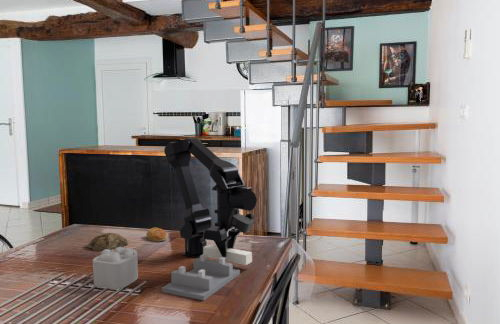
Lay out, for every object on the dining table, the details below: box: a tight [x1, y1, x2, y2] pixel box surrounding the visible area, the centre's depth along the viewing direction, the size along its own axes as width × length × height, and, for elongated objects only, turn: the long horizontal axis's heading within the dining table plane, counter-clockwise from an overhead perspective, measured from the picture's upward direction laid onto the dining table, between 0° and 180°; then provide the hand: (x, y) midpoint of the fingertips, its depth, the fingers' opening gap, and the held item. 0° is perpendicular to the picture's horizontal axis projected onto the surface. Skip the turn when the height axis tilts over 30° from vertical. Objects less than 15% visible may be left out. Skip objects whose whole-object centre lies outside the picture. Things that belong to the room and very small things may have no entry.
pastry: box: [145, 227, 168, 242], centre depth 164 cm, size 9×7×4 cm
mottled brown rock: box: [88, 232, 129, 252], centre depth 156 cm, size 13×12×5 cm
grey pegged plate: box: [161, 254, 241, 302], centre depth 121 cm, size 20×13×6 cm, turn 154°
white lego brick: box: [92, 247, 139, 290], centre depth 123 cm, size 10×13×9 cm
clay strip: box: [203, 244, 253, 266], centre depth 134 cm, size 16×3×3 cm, turn 59°
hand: (227, 255), depth 134 cm, fingers closed on clay strip, 4 cm apart
